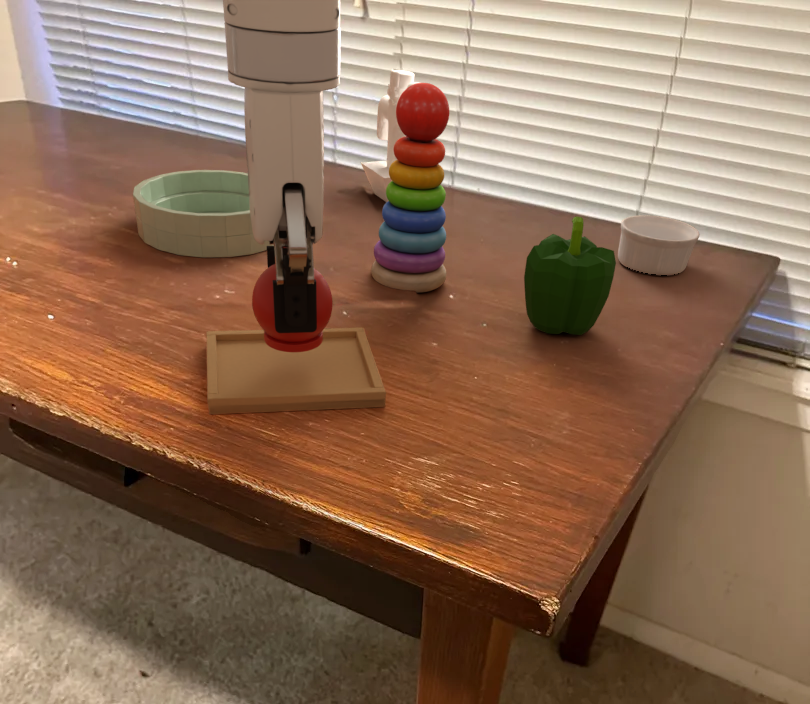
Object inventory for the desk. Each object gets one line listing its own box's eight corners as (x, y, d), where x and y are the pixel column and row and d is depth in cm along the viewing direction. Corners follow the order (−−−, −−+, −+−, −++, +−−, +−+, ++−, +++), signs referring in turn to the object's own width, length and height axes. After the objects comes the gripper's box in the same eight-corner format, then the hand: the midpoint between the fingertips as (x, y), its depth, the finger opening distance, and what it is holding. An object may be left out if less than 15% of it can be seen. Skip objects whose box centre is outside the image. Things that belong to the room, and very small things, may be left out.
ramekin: (626, 245, 100) (634, 209, 97) (697, 262, 97) (708, 225, 94) (602, 266, 94) (610, 228, 91) (677, 285, 91) (688, 246, 88)
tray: (208, 414, 63) (207, 398, 62) (207, 345, 72) (206, 331, 72) (385, 407, 66) (386, 391, 65) (363, 341, 75) (363, 327, 74)
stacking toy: (440, 300, 83) (459, 96, 72) (364, 290, 84) (371, 87, 72) (449, 272, 90) (468, 80, 78) (378, 263, 90) (386, 72, 78)
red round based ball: (256, 358, 64) (250, 266, 59) (252, 324, 69) (246, 236, 64) (337, 356, 65) (337, 265, 61) (327, 322, 70) (327, 235, 65)
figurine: (403, 184, 114) (410, 62, 105) (435, 205, 108) (446, 77, 98) (356, 188, 111) (359, 63, 102) (386, 210, 105) (392, 78, 95)
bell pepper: (585, 353, 76) (608, 246, 70) (504, 330, 79) (520, 225, 72) (613, 322, 82) (637, 221, 75) (537, 302, 85) (554, 203, 78)
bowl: (135, 263, 86) (128, 215, 83) (143, 212, 98) (137, 169, 95) (293, 262, 89) (292, 215, 86) (281, 213, 101) (280, 170, 98)
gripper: (223, 34, 60) (240, 272, 71) (230, 81, 47) (249, 363, 58) (324, 38, 62) (325, 270, 73) (358, 85, 48) (353, 359, 60)
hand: (291, 310), depth 66 cm, fingers closed on red round based ball, 6 cm apart
